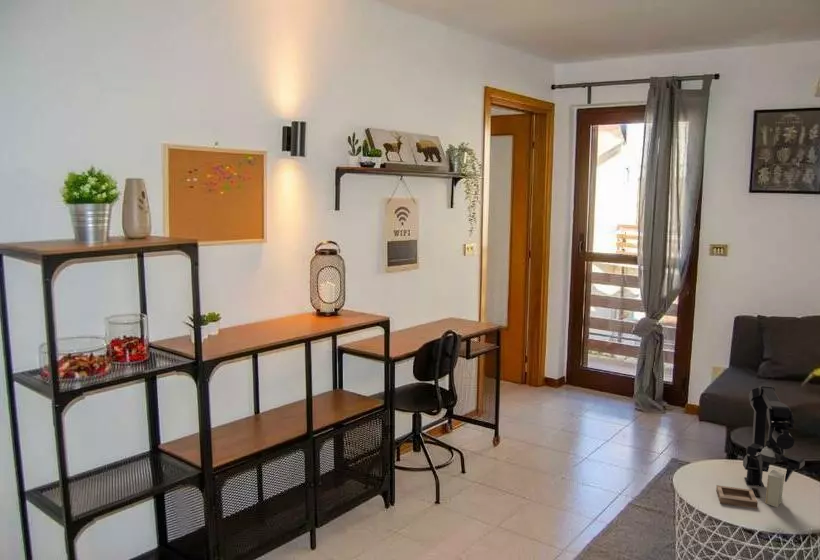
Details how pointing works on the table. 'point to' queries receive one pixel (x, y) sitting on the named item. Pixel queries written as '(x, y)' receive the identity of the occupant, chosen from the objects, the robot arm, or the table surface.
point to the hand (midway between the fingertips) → (772, 477)
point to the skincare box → (774, 488)
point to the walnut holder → (736, 496)
